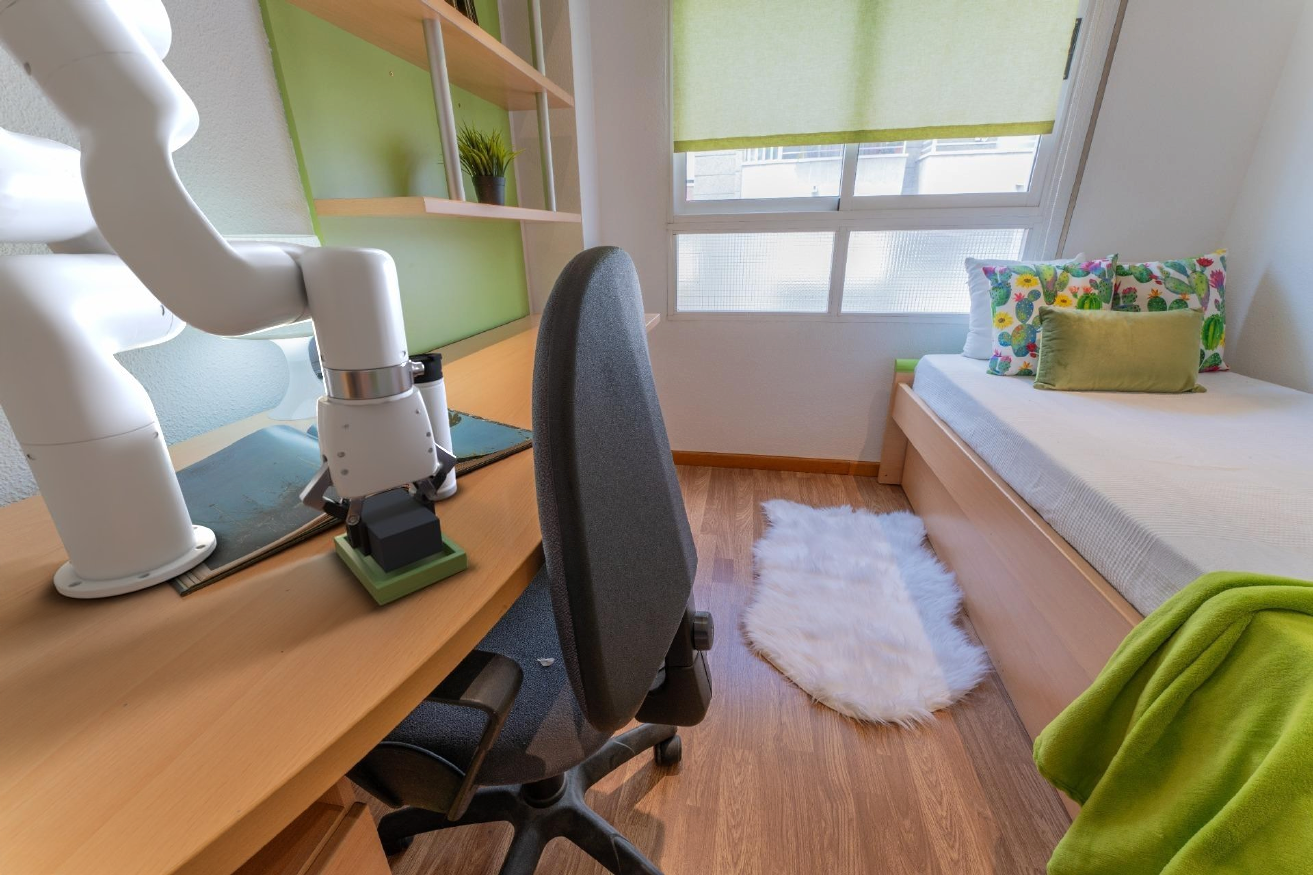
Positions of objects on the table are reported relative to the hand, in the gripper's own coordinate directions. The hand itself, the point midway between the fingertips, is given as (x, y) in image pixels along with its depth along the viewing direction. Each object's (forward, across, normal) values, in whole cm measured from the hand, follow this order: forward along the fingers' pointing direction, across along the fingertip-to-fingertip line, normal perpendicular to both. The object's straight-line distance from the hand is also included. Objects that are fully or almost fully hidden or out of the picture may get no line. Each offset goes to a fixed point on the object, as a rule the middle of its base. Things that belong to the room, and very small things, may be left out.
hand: (395, 537), depth 57 cm
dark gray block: (+1, 0, 0) cm, 1 cm away
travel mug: (+3, -10, -13) cm, 17 cm away
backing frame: (+3, 0, 0) cm, 3 cm away
